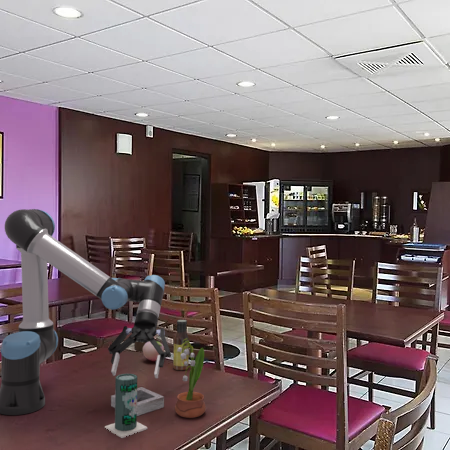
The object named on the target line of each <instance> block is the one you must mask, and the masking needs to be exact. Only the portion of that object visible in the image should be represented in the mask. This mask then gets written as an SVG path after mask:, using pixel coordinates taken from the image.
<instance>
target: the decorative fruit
mask: <svg viewBox="0 0 450 450" xmlns="http://www.w3.org/2000/svg"><path fill="white" fill-rule="evenodd" d="M156 342H157V343H158V345H159V346H160V348H161V349H162V350H163V351H164V352H165V348H164V345H163V343H162V342H160V341H157V340H156ZM142 354H143V356H144V357H145V358H146V359H147V360H148V361H151V362H157V357H158V355H159V353H158V352H157V351H156V349H155V348H154V346H153V345H152V344H151V342H150V341H149V342H147V343H146V344H145V345H144V346H143V352H142Z"/></svg>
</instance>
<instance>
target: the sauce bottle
mask: <svg viewBox="0 0 450 450" xmlns="http://www.w3.org/2000/svg"><path fill="white" fill-rule="evenodd" d="M187 324H188V320H186V319H178V320H177V321H176V325H177V326H176V328H177V329H176V333H175V334H174V336H173V361H172V362H173V369H174V370H176V371H186V369H187V367H188V366H189V365H188V366H187V365H186V366H185V365H184V362H185V361H188V362H189V361H190V360H189V358H190V357H187V356H190V353H189V354H187V355H186V358H187V360H186V359H185V358H184V360H182V359H181V354H182V351H181V352H179V351H177V350H178V348H179V347H180V346H181V345H182V344H184V342H185V341H189V342H190V338H189V335H188V332H187ZM186 338H188V340H187V339H186ZM184 339H186V340H184ZM183 340H184V341H183ZM187 344H188V342H187V343H185V345H184V348H185V347H186V346H187ZM188 345H189V344H188ZM182 347H183V345H182V346H181V348H182ZM184 348H183V353H184V350H185V349H186V348H185V349H184ZM187 349H189V350H190V347H187ZM187 370H188V369H187Z"/></svg>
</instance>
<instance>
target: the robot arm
mask: <svg viewBox="0 0 450 450" xmlns="http://www.w3.org/2000/svg"><path fill="white" fill-rule="evenodd" d="M55 227H56V224H55V221H54V219H53V217H52V216H51V215H50V214H49V213H48V212H46V211H44V210H42V209H35V208H31V209H18V210H15V211H13V212H11V213H10V214H9V215H8V216H7V217H6V220H5V222H4V232H5V235H6V237H7V239H8V240H10V241H11V242H12V243H13V244H15V249H16V250H18V251H19V252H20V260H21V264H20V265H21V292H22V294H21V296H22V298H21V299H22V321H21V323H20V324H19V325H18V332H17V331H16V332H15V333H11V334H9V335H6V336H5V337H4V338H3V340H2V342H1V347H0V353H1V354H0V355H1V360H0V361H1V370H0V371H1V384H0V415H5V416H19V415H27V414H30V413H34V412H36V411H39V410H41V409H42V408H44V407H45V405H46V396H45V393H44V391H43V387H42V384H41V381H40V380H41V379H40V375H41V374H40V372H41V371H40V367H41V366H40V364H42V363H43V362H44V361H46V360H48V359H50V357H51V356H52V355H53V354H54V352H55V351H56V350H57V347H58V344H59V337H58V333H57V332H56V330H55V329H54V322H53V320H51V319H50V317H49V316H50V314H49V313H50V311H49V310H50V309H49V281H48V280H49V279H48V278H49V277H48V264H49V265H51V266H52V267H54V269H56V270H58V271H59V272H61V273H62V274H63V275H65V276H67V277H68V278H69V279H71V280H73V281H74V282H75V283H77V284H78V285H80V286H81V287H83V288H84V289H85V290H87V291H88V292H89V293H91V294H93V295H94V296H95V297H96V298H98V299H100V300H101V302H102V304H103V306H104V307H105V308H106V309H108V310H112V311H113V310H118V309H120V308H122V307H124V306H125V305H126V303H128V302H135V303H138V306H137V311H136V315H135V320H134V324H133V327H132V328H131V327H128V326H127V325H124V326H123V328H122V330H121V332H120V334H119V335H118V336H116V338H115V339H114V341H112V342H111V344H110V345H109V347H108V349H107V350H108V352H109V355H111V358H110V359H111V360H110V362H111V364H112V366H111V371H110V373H111V374H112V376H115V377H116V375H117V370H118V366H119V362H120V358H121V356H120V354H122V353H123V352H124V351H126V349H127V348H129V347H130V346H131V345H132V344H134V343H135V342H136V341H138V342H145V343H147V342H149V341H150V342H151V344H152V345H153V346H154V348H155V349H156V351H157V352H158V353H159V355H158V357H157V360H156V361H155V366H154V367H155V368H154V372H153V374H154V378H155V379H159V376H160V375H159V373H160V368H163V367H164V365H165V359H166V358H172V353H171V350H170V348H169V345H168V341H167V339H166V336H165V335H166V331H165V328H163V327H161V328H160V329H157V328H158V322H159V316H160V313H161V307H162V302H163V297H164V294H165V285H166V282H165V280H164V278H162V277H161V276H159V275H156V274H152V275H147V276H146V277H145V278H144V280H135V279H127V278H121V277H118V278H117V277H111V276H109V275H108V274H106V273H105V272H104V271H102V270H101V269H99V268H98V267H97V266H95V265H94V264H92V263H91V262H89V261H88V260H87V259H85V258H83V257H82V256H80V255H79V254H78V253H76V252H75V251H74V250H72V249H71V248H69V247H68V246H66V245H65V244H64V243H62V242H61V241H59V240H58V239H57V238H55V237H54V236H53V235H54V234H55V233H54V232H55V230H56V228H55ZM131 333H132V334H131ZM128 335H129V336H128ZM156 335H158V337H160V338H161V343H162V345H163V346H164V351H163V350H162V349H161V348H160V346H159V345H158V343H157V342H156V341H157V340H156V338H155V337H156ZM127 336H128V338H127Z"/></svg>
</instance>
